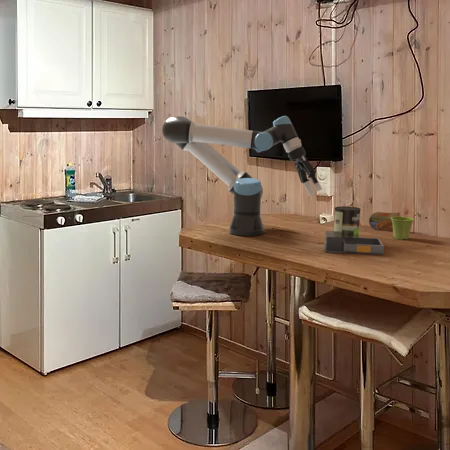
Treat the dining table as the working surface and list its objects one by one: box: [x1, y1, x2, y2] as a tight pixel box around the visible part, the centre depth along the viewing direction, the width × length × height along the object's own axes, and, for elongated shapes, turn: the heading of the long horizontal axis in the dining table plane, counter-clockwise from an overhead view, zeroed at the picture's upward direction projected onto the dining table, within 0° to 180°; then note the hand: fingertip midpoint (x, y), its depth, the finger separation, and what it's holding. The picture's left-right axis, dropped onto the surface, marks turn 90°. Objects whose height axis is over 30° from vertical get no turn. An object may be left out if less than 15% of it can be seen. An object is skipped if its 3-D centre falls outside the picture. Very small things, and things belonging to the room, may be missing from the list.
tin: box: [368, 211, 402, 232], centre depth 268 cm, size 15×3×8 cm, turn 69°
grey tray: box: [323, 230, 385, 256], centre depth 225 cm, size 21×15×6 cm
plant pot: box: [391, 216, 415, 241], centre depth 249 cm, size 9×9×9 cm
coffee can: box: [333, 205, 362, 238], centre depth 239 cm, size 10×10×14 cm
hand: (315, 193), depth 258 cm, fingers open, 13 cm apart
